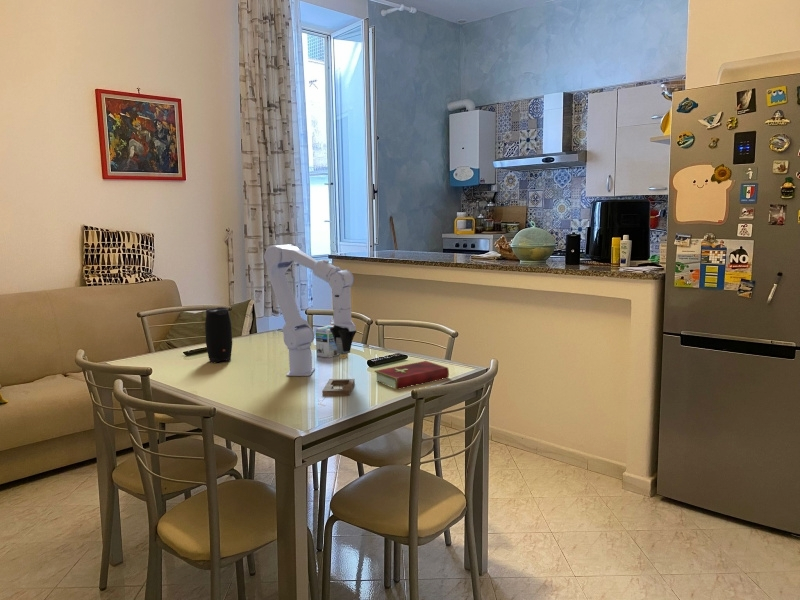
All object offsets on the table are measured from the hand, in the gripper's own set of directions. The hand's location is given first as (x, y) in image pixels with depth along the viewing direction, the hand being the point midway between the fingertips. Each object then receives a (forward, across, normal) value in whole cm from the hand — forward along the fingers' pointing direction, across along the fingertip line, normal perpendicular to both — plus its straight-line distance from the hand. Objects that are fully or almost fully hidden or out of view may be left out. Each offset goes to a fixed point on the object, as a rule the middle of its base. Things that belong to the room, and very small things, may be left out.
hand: (343, 349), depth 196 cm
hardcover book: (+11, +12, +18) cm, 24 cm away
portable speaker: (+10, -49, -27) cm, 57 cm away
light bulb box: (+10, -35, +12) cm, 39 cm away
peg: (+3, 0, 0) cm, 3 cm away
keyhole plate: (+10, +9, -6) cm, 15 cm away
